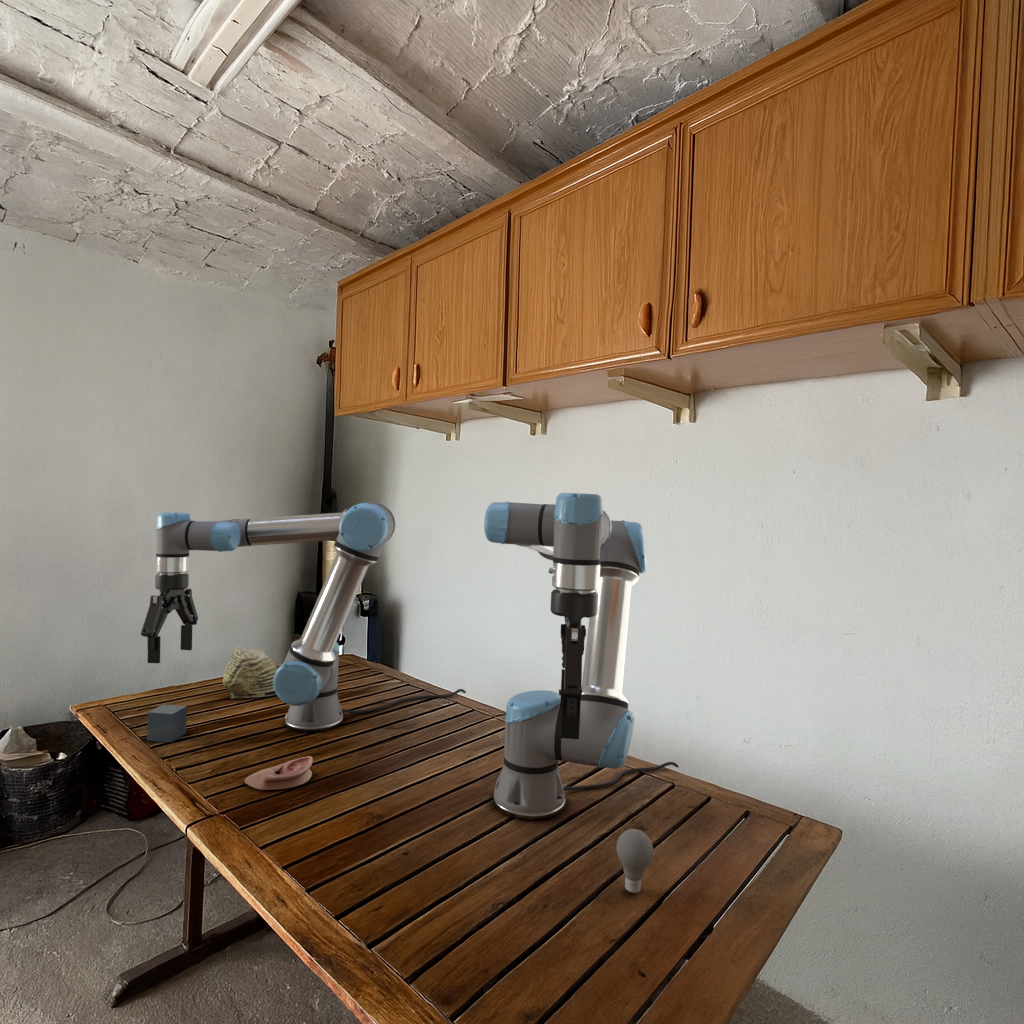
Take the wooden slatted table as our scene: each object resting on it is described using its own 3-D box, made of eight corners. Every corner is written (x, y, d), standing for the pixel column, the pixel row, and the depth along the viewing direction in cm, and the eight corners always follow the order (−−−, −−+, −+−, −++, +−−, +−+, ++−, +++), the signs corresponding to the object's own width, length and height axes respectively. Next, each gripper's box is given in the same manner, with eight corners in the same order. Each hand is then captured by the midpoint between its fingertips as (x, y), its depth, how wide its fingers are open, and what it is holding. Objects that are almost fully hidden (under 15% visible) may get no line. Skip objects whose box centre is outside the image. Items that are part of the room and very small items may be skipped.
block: (161, 731, 165) (162, 704, 165) (185, 733, 165) (186, 706, 165) (146, 740, 159) (147, 712, 159) (171, 742, 159) (172, 713, 158)
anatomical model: (236, 768, 136) (267, 748, 147) (235, 786, 136) (266, 765, 148) (292, 776, 134) (319, 755, 145) (291, 794, 134) (319, 772, 145)
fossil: (218, 695, 195) (220, 647, 195) (278, 685, 208) (279, 640, 207) (228, 703, 189) (230, 653, 188) (289, 692, 201) (290, 645, 201)
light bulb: (610, 879, 108) (613, 822, 108) (644, 879, 109) (647, 822, 109) (619, 902, 102) (622, 840, 102) (655, 901, 103) (658, 840, 103)
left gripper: (186, 567, 174) (185, 644, 174) (124, 578, 149) (123, 668, 149) (213, 568, 173) (211, 645, 174) (155, 579, 148) (153, 669, 149)
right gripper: (551, 579, 114) (546, 696, 114) (550, 600, 89) (543, 750, 89) (593, 581, 113) (588, 699, 113) (604, 603, 88) (597, 754, 89)
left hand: (170, 656), depth 161 cm, fingers open, 13 cm apart
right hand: (568, 722), depth 101 cm, fingers open, 13 cm apart
